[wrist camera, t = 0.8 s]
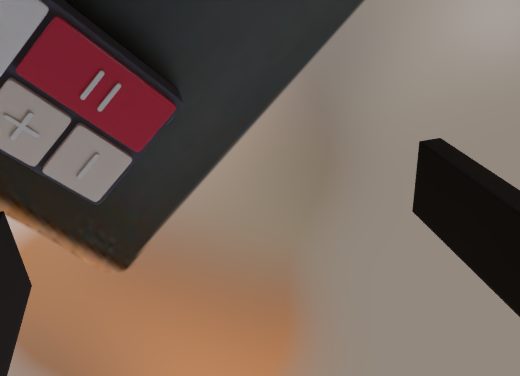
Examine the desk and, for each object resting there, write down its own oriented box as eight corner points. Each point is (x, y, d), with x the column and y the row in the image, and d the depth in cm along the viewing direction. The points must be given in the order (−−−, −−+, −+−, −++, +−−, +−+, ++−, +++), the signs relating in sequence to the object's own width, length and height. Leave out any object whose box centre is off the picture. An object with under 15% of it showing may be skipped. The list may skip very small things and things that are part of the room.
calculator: (98, 212, 38) (-111, 97, 30) (98, 186, 41) (-88, 77, 34) (188, 107, 36) (-12, -47, 28) (180, 89, 39) (1, -52, 32)
